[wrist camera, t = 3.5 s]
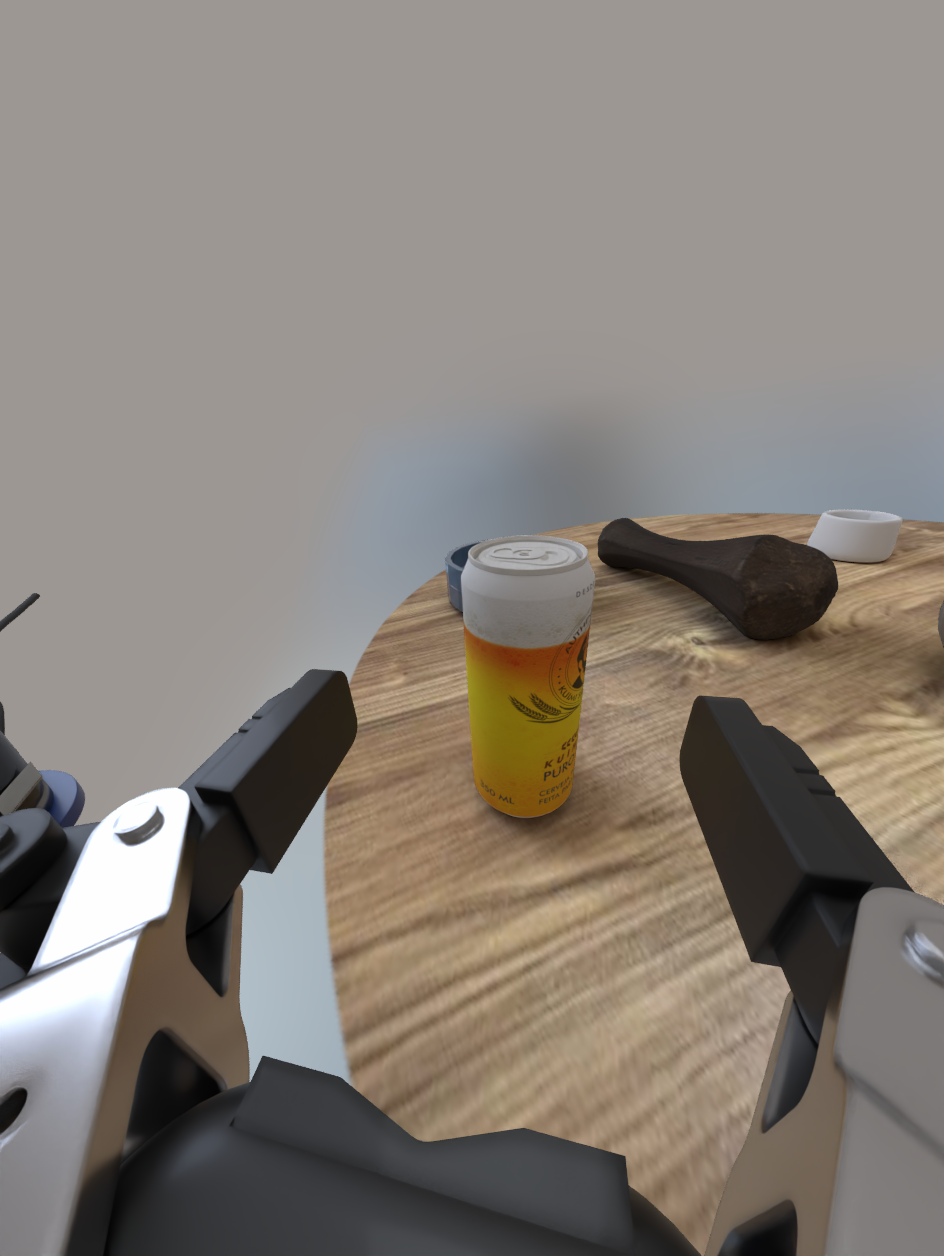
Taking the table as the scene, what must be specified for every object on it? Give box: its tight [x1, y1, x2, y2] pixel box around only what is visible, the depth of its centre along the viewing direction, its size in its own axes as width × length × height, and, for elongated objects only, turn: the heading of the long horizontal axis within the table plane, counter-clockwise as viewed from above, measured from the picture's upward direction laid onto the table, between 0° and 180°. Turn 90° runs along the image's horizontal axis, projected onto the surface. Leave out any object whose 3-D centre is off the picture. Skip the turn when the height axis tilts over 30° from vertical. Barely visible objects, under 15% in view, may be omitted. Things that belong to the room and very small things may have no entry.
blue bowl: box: [445, 540, 488, 612], centre depth 48 cm, size 15×15×6 cm
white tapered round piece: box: [807, 510, 902, 563], centre depth 58 cm, size 12×10×6 cm
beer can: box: [461, 536, 595, 818], centre depth 20 cm, size 6×6×15 cm
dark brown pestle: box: [598, 518, 838, 640], centre depth 47 cm, size 11×10×28 cm
